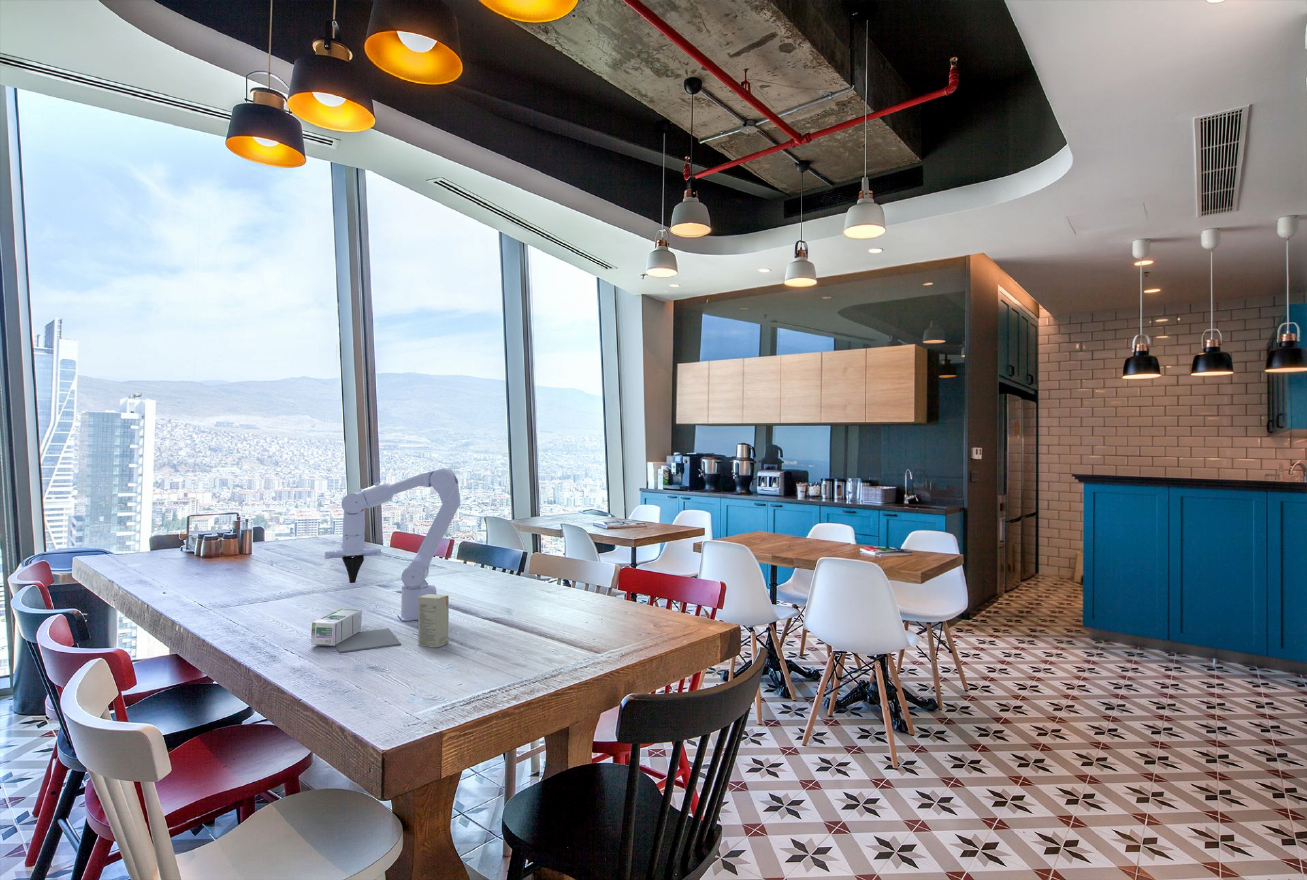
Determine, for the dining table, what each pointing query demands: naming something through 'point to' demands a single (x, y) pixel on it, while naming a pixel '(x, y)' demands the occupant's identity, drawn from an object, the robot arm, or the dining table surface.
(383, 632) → the grey mat
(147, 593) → the dining table surface
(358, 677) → the dining table surface
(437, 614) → the skincare box
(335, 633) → the syrup box
